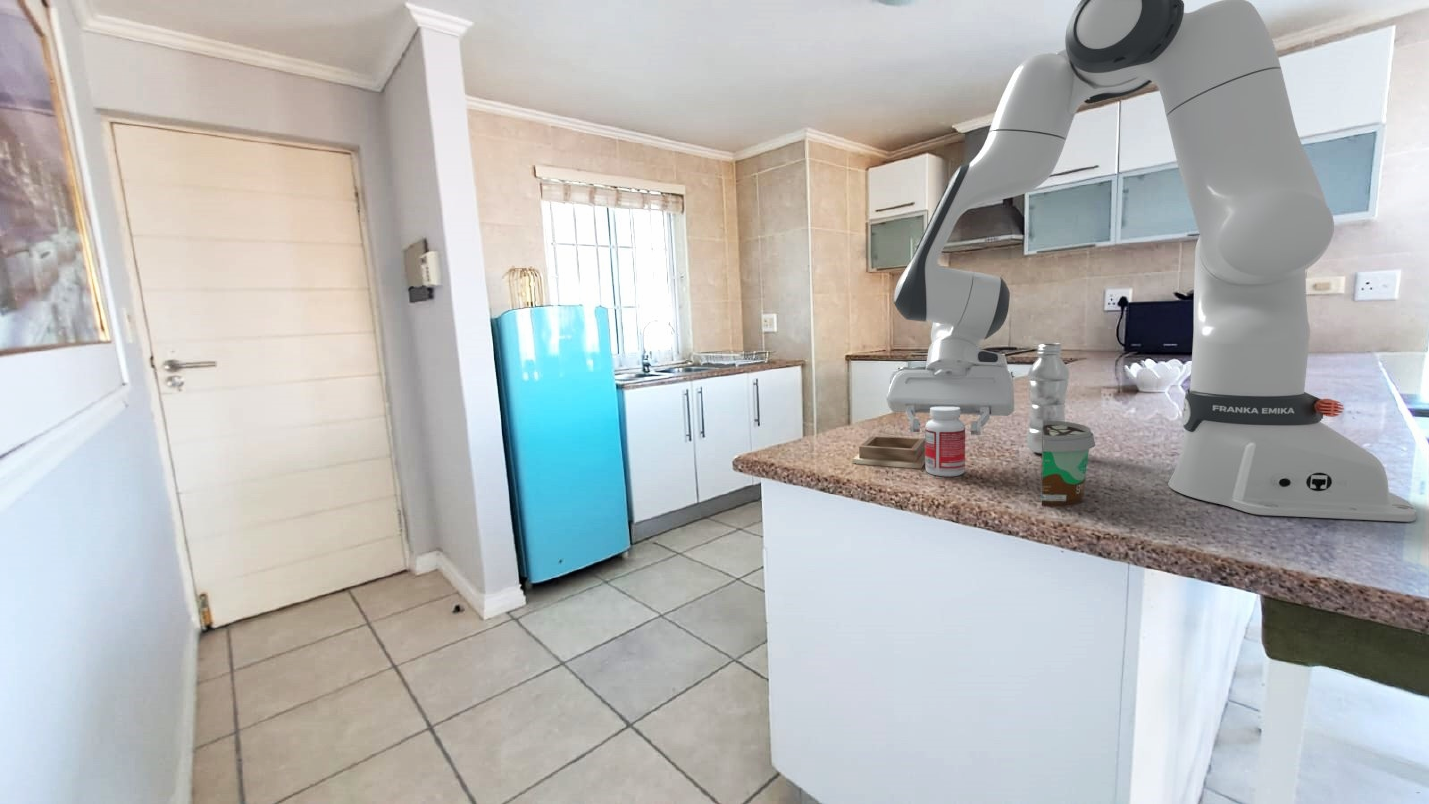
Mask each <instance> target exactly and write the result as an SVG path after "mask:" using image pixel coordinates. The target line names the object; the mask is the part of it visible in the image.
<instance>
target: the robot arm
mask: <svg viewBox="0 0 1429 804" xmlns="http://www.w3.org/2000/svg"><path fill="white" fill-rule="evenodd" d="M1066 26H1067V27H1066V30H1065V39H1064V43H1065V48H1064V49H1063V50H1061V51H1058V52H1056V53H1052V52H1048V53H1041V54H1037V55H1034V56H1032V57H1029V58H1027V59H1025V60H1024V61H1023V62H1022V63H1020V64H1019V65H1018V66H1017V67H1016V69H1015V70H1014V72H1013V73H1012V75H1011V77H1010V79H1009V81H1008V83H1007V84H1006V87H1005V89H1004V91H1003V93H1002V96H1001V97H1000V100H999V102H998V104H997V107H996V110H995V113H994V115H993V118H992V121H991V123H990V124H991V125H990V127H989V131H988V134H987V137H986V139H985V142H984V144H983V145H982V148H981V149H980V150H979V152H978V154H977V155H976V156H975V157H974V158H973V159H972V160H971V161H970V162H969V163H965V164H963V165H960V166H959V167H958V168H957V170H956V171H955V172H954V173H953V174H952V176H951V178H950V179H949V181H948V182H947V185H946V186H945V189H944V191H943V193H942V195H941V197H940V198H939V201H938V202H937V205H936V206H935V208H934V211H933V213H932V214H931V218H930V219H929V222H928V224H927V226H926V227H925V230H924V232H923V235H922V237H921V239H920V240H919V242H918V246H917V248H916V250H915V252H914V253H913V256H912V258H911V260H910V262H909V264H908V265H907V267H906V268H904V269H905V270H904V271H903V273H902V274H901V275H900V277H899V278H898V281H897V284H896V286H895V289H894V295H893V299H894V300H893V305H894V306H895V308H896V309H897V311H898V312H899V314H900V315H901V316H902V317H903V318H904V319H905V320H907V321H917V322H930V323H932V326H931V331H930V340H931V344H930V345H929V347H928V350H927V358H926V362H925V366H914V367H913V366H911V367H910V366H902V367H900V368H898V369H896V370H894V371H892V373H890V374H891V375H890V379H889V383H890V385H889V388H888V391H887V395H886V403H887V406H888V408H889V410H891V412H893V413H906V416H907V417H906V418H907V419H908V421H909V423H910V424H909V430H910V432H911V433H920V432H921V425H922V423H921V419H920V418H915V417H916V415H917V414H930V408H931V407H937V406H955V407H959V408H960V412H961V415H964V416H965V415H967V416H968V415H969V416H972V415H973V416H979V417H978V419H977V420H971V421H970V435H971V436H981V435H982V428H984V426H985V425H986V424H987V423H988V422H989V421H990V417H991V416H994V417H995V416H998V417H999V416H1000V417H1003V416H1004V417H1008V416H1010V415H1011V414H1013V412H1014V411H1015V388H1014V382H1013V377H1012V375H1011V372H1010V371H1009V370H1008V369H1009V368H1008V361H1007V357H1006V355H1004V354H1003V353H1000V352H999V353H998V352H994V351H990V350H989V351H988V350H984V349H981V348H980V345H981V342H982V340H984V341H985V340H986V339H989V338H990V337H992V336H993V335H994V334H995V333H997V332H998V331H999V330H1000V329H1001V328H1002V327H1003V325H1004V323H1005V321H1006V319H1007V317H1008V312H1009V309H1010V307H1009V306H1010V297H1011V292H1010V290H1009V287H1008V285H1007V283H1006V282H1005V280H1004V279H1003V278H1002V277H1001V276H996V275H993V274H989V273H983V272H976V271H969V270H963V269H958V268H953V267H947V266H942V265H941V264H940V263H938V261H939V258H940V256H941V254H942V252H943V249H944V248H945V246H946V244H947V242H948V241H949V240H948V239H949V238H950V236H951V233H952V232H953V230H954V229H955V225H956V224H957V222H958V220H959V219H960V217H961V216H962V215H964V213H965V212H966V211H968V210H970V209H971V208H974V207H977V206H978V205H982V204H985V203H991V202H996V201H1000V200H1001V201H1002V200H1005V199H1010V198H1014V197H1018V196H1021V195H1024V194H1027V193H1029V192H1031V191H1032V190H1035V189H1037V188H1038V187H1040V186H1041V185H1043V183H1044V182H1046V181H1047V180H1048V179H1049V178H1050V176H1051V175H1052V174H1053V172H1054V170H1055V169H1056V166H1057V165H1058V162H1059V159H1060V157H1061V155H1062V152H1063V149H1064V147H1065V144H1066V141H1067V138H1068V135H1069V132H1070V129H1071V126H1072V123H1073V121H1074V118H1075V115H1076V113H1077V112H1078V110H1079V108H1081V107H1080V106H1082V105H1083V103H1085V104H1088V105H1091V104H1095V103H1098V102H1104V101H1107V100H1110V99H1115V98H1116V99H1117V98H1120V97H1124V96H1130V95H1132V94H1134V93H1136V92H1139V91H1141V90H1143V89H1145V88H1146V87H1148V86H1149V85H1151V84H1152V83H1154V84H1155V85H1156V87H1157V89H1158V90H1159V93H1160V95H1161V100H1162V103H1163V107H1164V113H1165V116H1166V122H1167V125H1168V129H1169V133H1170V137H1171V142H1172V145H1173V149H1174V154H1175V159H1176V163H1177V166H1178V170H1179V174H1180V177H1181V181H1182V183H1183V186H1184V187H1185V191H1186V194H1187V197H1188V200H1189V203H1190V205H1191V206H1190V207H1191V209H1192V213H1193V215H1194V219H1195V223H1196V226H1197V230H1198V234H1199V237H1198V239H1197V242H1196V244H1195V245H1196V246H1195V250H1194V251H1195V254H1194V279H1193V281H1194V283H1193V284H1194V285H1193V335H1192V336H1193V337H1192V354H1191V365H1190V368H1191V370H1190V381H1189V382H1190V384H1189V388H1188V389H1186V390H1185V396H1184V398H1183V405H1182V407H1183V408H1182V421H1181V422H1182V425H1183V428H1184V434H1183V439H1182V443H1181V447H1180V452H1179V456H1178V458H1177V462H1176V465H1175V468H1174V471H1173V473H1172V475H1171V478H1169V481H1168V483H1167V485H1168V487H1169V488H1170V489H1172V490H1174V491H1175V492H1178V493H1179V494H1182V495H1183V496H1184V495H1185V496H1188V497H1191V498H1193V499H1197V500H1199V501H1200V500H1201V501H1204V502H1209V503H1213V504H1219V505H1221V506H1226V507H1230V508H1233V509H1235V510H1239V511H1242V512H1245V513H1249V514H1252V515H1260V516H1276V517H1277V516H1278V517H1299V518H1300V517H1301V518H1304V517H1305V518H1317V519H1318V518H1321V519H1340V520H1341V519H1343V520H1363V521H1364V520H1365V521H1381V522H1382V521H1383V522H1385V521H1388V522H1414V521H1415V520H1416V519H1417V508H1416V507H1415V506H1414V505H1413V504H1412V503H1411V502H1410V501H1408V500H1406V499H1404V498H1403V497H1401V496H1398V495H1396V494H1394V493H1392V492H1390V491H1389V490H1390V489H1389V481H1388V475H1387V473H1386V470H1385V467H1384V465H1383V463H1382V462H1381V460H1380V459H1379V458H1378V457H1377V456H1375V455H1374V454H1373V453H1371V452H1370V451H1368V450H1366V449H1364V448H1363V447H1362V446H1360V445H1358V444H1357V443H1355V442H1353V441H1352V440H1351V439H1349V438H1348V437H1346V436H1344V435H1343V434H1341V433H1340V432H1337V430H1335V429H1333V428H1332V427H1329V426H1328V425H1326V424H1325V423H1323V422H1322V419H1324V417H1329V418H1333V417H1335V418H1336V417H1338V416H1340V414H1343V412H1344V410H1345V408H1344V405H1343V404H1341V402H1340V401H1339V400H1338V401H1337V400H1333V399H1331V398H1319V397H1318V396H1316V395H1315V396H1314V395H1312V394H1310V393H1308V392H1306V391H1305V385H1306V377H1307V368H1308V367H1307V366H1308V357H1309V356H1308V355H1309V348H1310V347H1309V346H1310V337H1311V327H1310V324H1309V316H1308V306H1307V291H1306V290H1307V289H1306V286H1307V285H1306V281H1307V280H1306V278H1307V277H1306V271H1307V270H1308V269H1309V268H1310V267H1312V266H1314V265H1315V264H1316V262H1318V261H1319V260H1320V259H1321V258H1322V257H1323V255H1325V252H1326V251H1327V250H1328V247H1330V243H1331V241H1332V239H1333V236H1334V230H1335V221H1334V216H1333V214H1332V212H1331V210H1330V208H1329V206H1328V204H1327V201H1326V198H1325V195H1324V193H1323V190H1322V187H1321V185H1320V181H1319V179H1318V177H1317V175H1316V173H1315V172H1316V171H1315V169H1314V167H1313V165H1312V163H1311V161H1310V159H1309V156H1308V154H1307V152H1306V150H1305V148H1304V146H1303V144H1302V141H1301V140H1300V137H1299V134H1298V131H1297V128H1296V127H1297V126H1296V123H1295V119H1294V116H1293V112H1292V108H1291V103H1290V99H1289V95H1288V90H1287V87H1286V86H1287V85H1286V83H1285V82H1286V81H1285V78H1284V75H1283V69H1282V67H1281V62H1280V59H1279V55H1278V52H1277V50H1276V47H1275V44H1274V41H1273V38H1272V36H1271V34H1270V32H1269V29H1268V28H1267V26H1266V24H1265V22H1264V20H1263V17H1262V16H1261V15H1260V14H1259V11H1258V9H1257V8H1256V7H1255V6H1254V5H1253V4H1252V3H1251V2H1250V1H1248V0H1219V1H1215V2H1212V3H1210V4H1206V5H1205V6H1202V7H1200V8H1198V9H1196V10H1193V11H1191V12H1185V3H1184V0H1080V2H1079V3H1078V4H1077V6H1076V7H1075V9H1074V10H1073V12H1072V14H1071V16H1070V18H1069V20H1068V24H1067V25H1066Z"/></svg>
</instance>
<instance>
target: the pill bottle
mask: <svg viewBox="0 0 1429 804" xmlns="http://www.w3.org/2000/svg"><path fill="white" fill-rule="evenodd" d="M961 415H962V414H961V412H960V408H959V407H955V406H937V407H931V408H930V413H929V417H930V418H931V419H929V420H928V421H927V422H925V423H926V424H925V426H924V427H925V428H924V434H925V435H924V437H925V463H924V464H925V471H926V472H927V473H928V474H929V475H933V476H936V477H937V476H938V477H944V478H946V477H947V478H950V477H959V476H962V474H964V473H965V472H966V424H965V423H964V422H963V421H961V420H960V419H959V418H960V417H961Z"/></svg>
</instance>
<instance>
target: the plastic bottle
mask: <svg viewBox="0 0 1429 804" xmlns="http://www.w3.org/2000/svg"><path fill="white" fill-rule="evenodd" d="M1062 353H1063V351H1062V344H1061V343H1039V344H1038V345H1037V352H1036V355H1037V356H1038V357H1037V359H1036V360H1035V361H1034V362H1033V364H1032V365H1031V366H1030V368H1029V370H1028V372H1027V375H1028V384H1029V392H1030V393H1029V394H1030V403H1031V404H1030V413H1029V414H1030V416H1029V421H1028V422H1029V423H1028V424H1029V425H1028V427H1027V432H1026V437H1025V439H1026V444H1027V448H1028V449H1029V450H1030V451H1031V452H1033V453H1036V454H1041V455H1042V428H1043V420H1051V421H1063V422H1066V416H1065V409H1066V408H1065V407H1066V405H1065V404H1066V396H1067V390H1068V385H1069V379H1070V371H1069V368H1068V367H1067V365H1066V364H1065V362H1064V361H1063V359H1062V358H1061V355H1062Z"/></svg>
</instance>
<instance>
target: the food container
mask: <svg viewBox="0 0 1429 804" xmlns="http://www.w3.org/2000/svg"><path fill="white" fill-rule="evenodd" d="M1091 430H1092V429H1091V428H1090V427H1088V426H1087V425H1084V424H1080V423H1076V422H1070V421H1069V422H1068V421H1065V422H1063V421H1051V420H1043V428H1042V454H1041V468H1040V469H1041V470H1040V471H1041V473H1040V501H1041V506H1042V507H1043V506H1044V507H1068V506H1069V505H1070V506H1076V505H1079V504H1081V503H1082V502H1083V498H1084V492H1085V491H1084V490H1085V484H1086V483H1085V482H1086V474H1087V468H1088V461H1089V459H1088V458H1089V452H1090V449H1092V448H1095V446H1096V440H1095V438H1094V434H1093V432H1092V431H1091ZM1080 502H1081V503H1080Z"/></svg>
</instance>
